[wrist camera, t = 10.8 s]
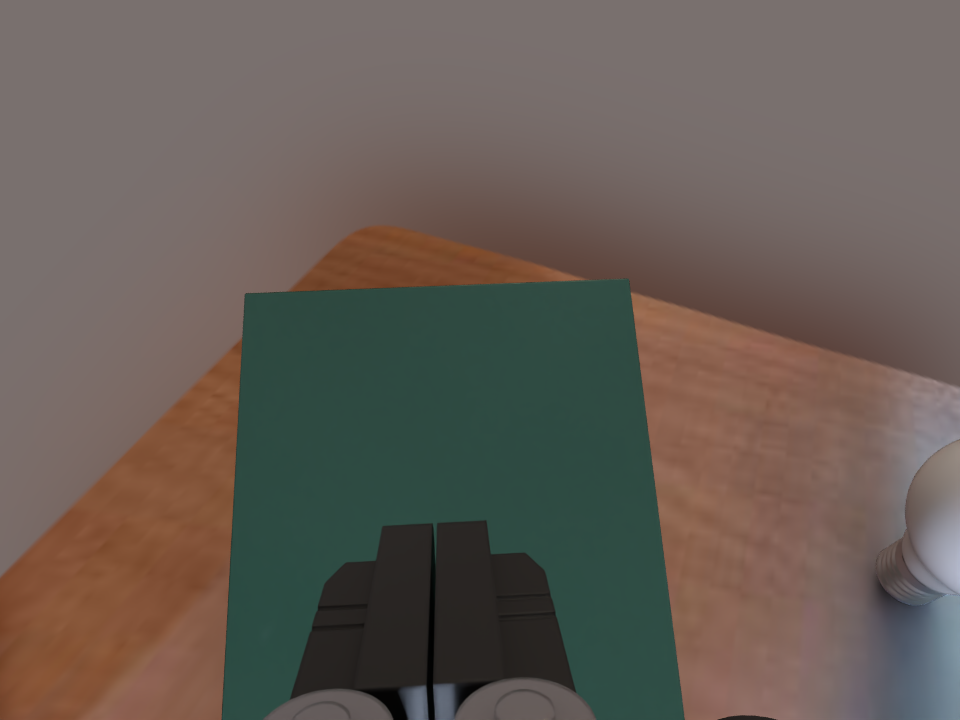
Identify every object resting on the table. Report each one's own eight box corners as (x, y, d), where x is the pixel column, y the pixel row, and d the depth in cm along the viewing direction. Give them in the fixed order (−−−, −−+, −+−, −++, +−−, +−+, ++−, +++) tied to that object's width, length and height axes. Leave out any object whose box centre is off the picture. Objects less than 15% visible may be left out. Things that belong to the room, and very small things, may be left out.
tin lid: (251, 303, 25) (244, 292, 24) (624, 288, 25) (629, 277, 24) (226, 792, 20) (216, 801, 19) (682, 764, 20) (691, 771, 20)
